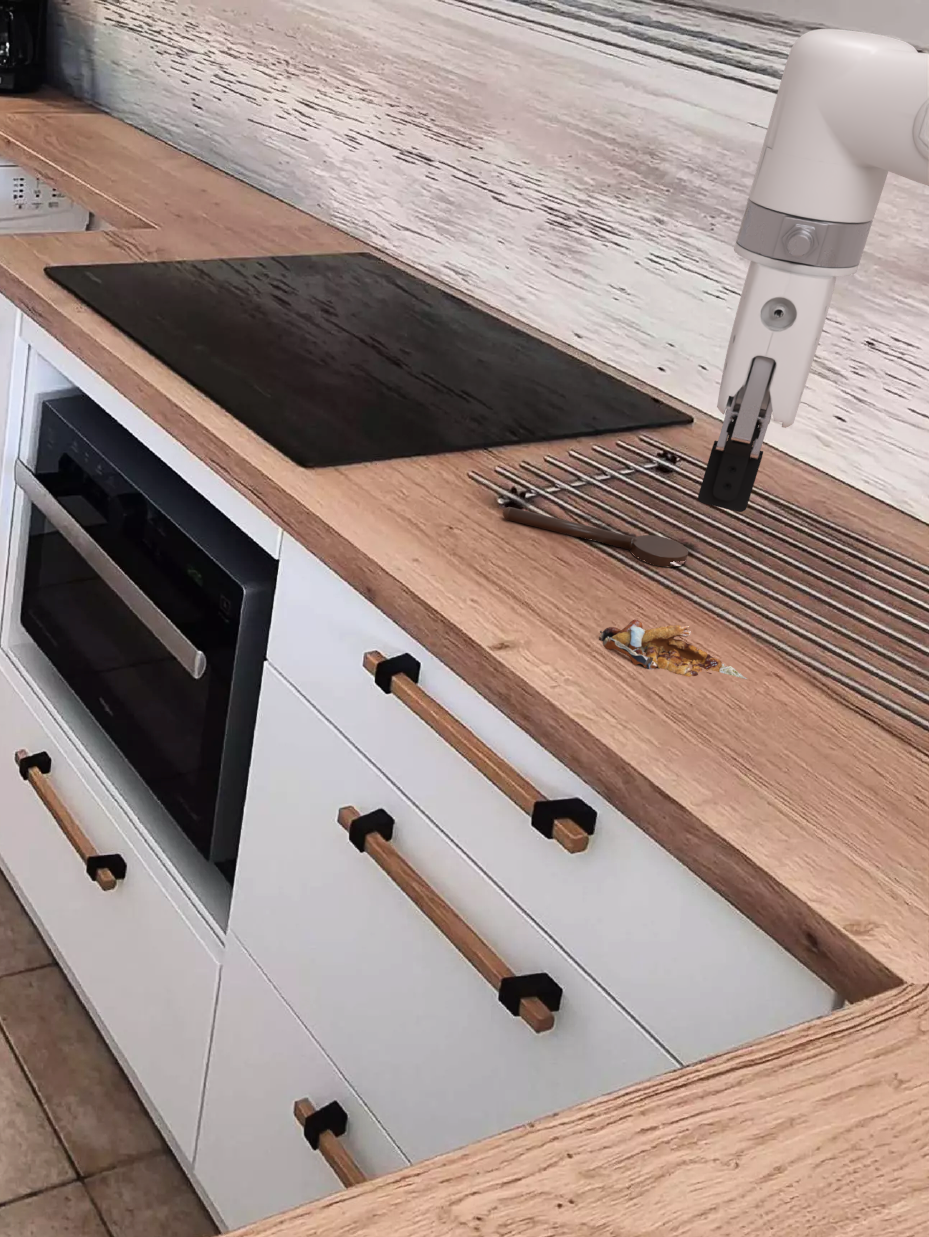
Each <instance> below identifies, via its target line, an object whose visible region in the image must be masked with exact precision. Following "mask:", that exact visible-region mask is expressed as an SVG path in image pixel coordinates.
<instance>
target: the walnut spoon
mask: <svg viewBox="0 0 929 1237" xmlns="http://www.w3.org/2000/svg"><path fill="white" fill-rule="evenodd" d="M502 517H503V519H504V520H506V521H510V522H514V523H519V524H523V525H527V526H531V527H535V528H539V529H543V530H547V531H551V532H554V533H559V534H563V535H567V536H571V537H575V538H579V537H582V538H581V539H583V538H586V539H585V540H587V539H592V540H596V541H598V542H597V543H599V542H603V543H602V544H604V543H606V544H605V545H608V544H610V545H609V546H612V545H613V547H616V548H620V547H621V549H624V550H628V549H629V550H628V551H630V553H631V552H632V553H633V554H634V555H635V556H636V557H639V559H641V560H645V561H646V562H648V563H651V564H654V565H653V566H655V565H659V566H658V567H660V566H668V565H669V564H670V562H673V561H675V562H676V561H679V562H680V561H685V560H686V561H687V560H688V559H687V558H688V556H689V549H688V548H687V546H685V545H683V544H682V543H680V542H678V541H676V540H673V539H671V538H667V537H664V536H659V535H650V534H645V535H643V534H642V535H637V536H631V535H627V534H623V533H620V532H619V533H618V532H615V531H610V530H606V529H603V528H598V527H594V526H591V525H587V524H581V523H577V522H573V521H569V520H565V519H561V518H558V517H554V516H550V515H544V514H541V513H536V512H532V511H529V510H524V509H520V508H516V507H511V506H508V507H505V508H504V509H503V510H502ZM636 557H635V558H636ZM639 559H638V560H639ZM641 560H640V561H641ZM648 563H647V564H648ZM651 564H650V565H651Z"/></svg>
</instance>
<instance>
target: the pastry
mask: <svg viewBox="0 0 929 1237" xmlns="http://www.w3.org/2000/svg"><path fill="white" fill-rule="evenodd" d="M690 627H691V626H690V625H682V626H681V625H679V624H673V625H666V626H661V625H660V626H659V627H655V628H649V629H647V628H645V629H644V628H643V622H641V621H640V620H638V619H636V618H635V619H632V621H630V622H628V624H627V625H626V626H624V627H623V628H622V629H620V628H618V627H615V626H609V627H606V628H605V629H603V631H602V630H600V631H599V633H600V634H599V637H598V641H600V642H602V646H603V648H604V649H606V650H608V651H611V650H616V651H618V652H619V653H621V654H623V655H625V656H627V657H628V658H629V659H630V661H631V663H632V664H633V665H635V666H637V665H642V667H644V668H645V669H647V670H656V669H658V670H660V669H662V670H665V671H668V672H670V673H673V674H675V675H678V676H683V677H689V678H691V677H698V676H699V673H702V672H703V669H704V670H705V672H706V674H709V675H712V674H713V673H712V672H709V671H713V672H717V673H721V674H724V675H729V676H732V677H736V678H740V679H744V680H747V681H748V678H747V677H745V676H744V675H743V674H742V673H741V672H739V671H738V670H736V668H734V667H733V666H732V665H726V664H725V663H723V662H722V660H720V659H718V658H716V657H714V656H712V655H711V654H709V653H708V652H707V651H705V650H702V649H698V648H697V646H694V645H693V644H692V643H688V642H686V641H685V640H682V639H678V638H677V637H685V638H687V637H690V635H691V634H692V633H691V632H692V631H691V629H689V628H690ZM644 653H645V655H644ZM690 665H691V667H690Z"/></svg>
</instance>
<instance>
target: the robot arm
mask: <svg viewBox="0 0 929 1237" xmlns="http://www.w3.org/2000/svg"><path fill="white" fill-rule="evenodd" d="M772 108H773V109H772V112H771V115H770V118H769V123H768V126H767V130H766V133H765V137H764V140H763V143H762V146H761V151H760V155H759V157H758V158H759V159H758V162H757V166H756V169H755V173H754V177H753V179H752V184H751V187H750V191H749V194H748V198H747V201H746V204H745V207H744V211H743V214H742V218H741V222H740V225H739V228H738V232H737V236H736V238H735V242H734V247H733V251H734V253H736V255H738V256H740V258H743V259H746V260H748V261H750V263H749V266H748V268H747V269H748V270H747V273H746V277H745V280H744V283H743V287H742V290H741V295H740V297H739V301H738V306H737V309H736V313H735V317H734V319H733V324H732V329H731V333H730V336H729V341H728V345H727V350H726V354H725V359H724V364H723V370H722V375H721V380H720V385H719V386H720V387H719V392H718V398H717V405H716V408H717V409H718V411H719V412H720V413H721V414H722V415H724V420H723V422H722V423H723V424H722V426H721V430H720V433H719V437H718V440H714V441H713V444H712V447H711V451H710V453H709V458H708V461H707V464H706V467H705V471H704V475H703V478H702V481H701V485H700V489H699V490H698V495H697V500H698V502H699V503H701V504H704V505H707V506H712V507H717V508H720V509H725V510H729V511H734V512H738V513H743V512H745V511H746V510H747V508H748V505H749V502H750V498H751V494H752V491H753V488H754V485H755V483H756V482H755V481H756V478H757V476H758V471H759V468H760V466H761V461H762V459H763V456H764V450H761V449H762V446H763V443H764V440H765V436H766V433H767V429H768V427H769V425H770V423H771V419H772V420H773V421H774V422H778V423H782V424H781V428H785V429H787V428H788V427H791V426H792V425H793V424H794V423H795V420H796V416H797V413H798V411H799V407H800V404H801V400H802V397H803V394H804V392H805V388H806V385H807V381H808V378H809V374H810V372H811V369H812V365H813V363H814V359H815V356H816V353H817V350H818V346H819V343H820V340H821V337H822V334H823V330H824V327H825V323H826V321H827V320H826V319H827V316H828V313H829V309H830V305H831V301H832V298H833V293H834V289H835V285H836V280H837V278H839V277H848V276H851V275H855V274H856V273H857V272H858V269H859V265H860V263H861V259H862V256H863V253H864V249H865V247H866V243H867V241H868V237H869V235H870V231H871V228H872V225H873V221H874V219H875V215H876V212H877V209H878V205H879V202H880V199H881V196H882V193H883V190H884V187H885V183H886V182H887V177H888V175H889V172H890V173H892V174H895V175H897V176H900V177H903V178H905V179H908V180H910V181H913V182H916V183H918V184H922V185H925V186H928V187H929V52H919V51H918V50H917V49H916V48H915V47H914V45H912V44H911V43H908V42H907V41H905V40H902V39H899V38H895V37H892V36H889V35H882V34H877V33H872V32H867V31H866V32H865V31H858V30H849V29H838V28H818V29H813V30H809V31H807V32H805V33H803V34H801V35H800V36H799V37H798V38H797V39H796V40H795V42H794V43H793V44H792V46H791V49H790V50H789V53H788V56H787V60H786V62H785V65H784V69H783V73H782V75H781V79H780V83H779V86H778V89H777V93H776V97H775V100H774V105H773V107H772Z"/></svg>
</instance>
